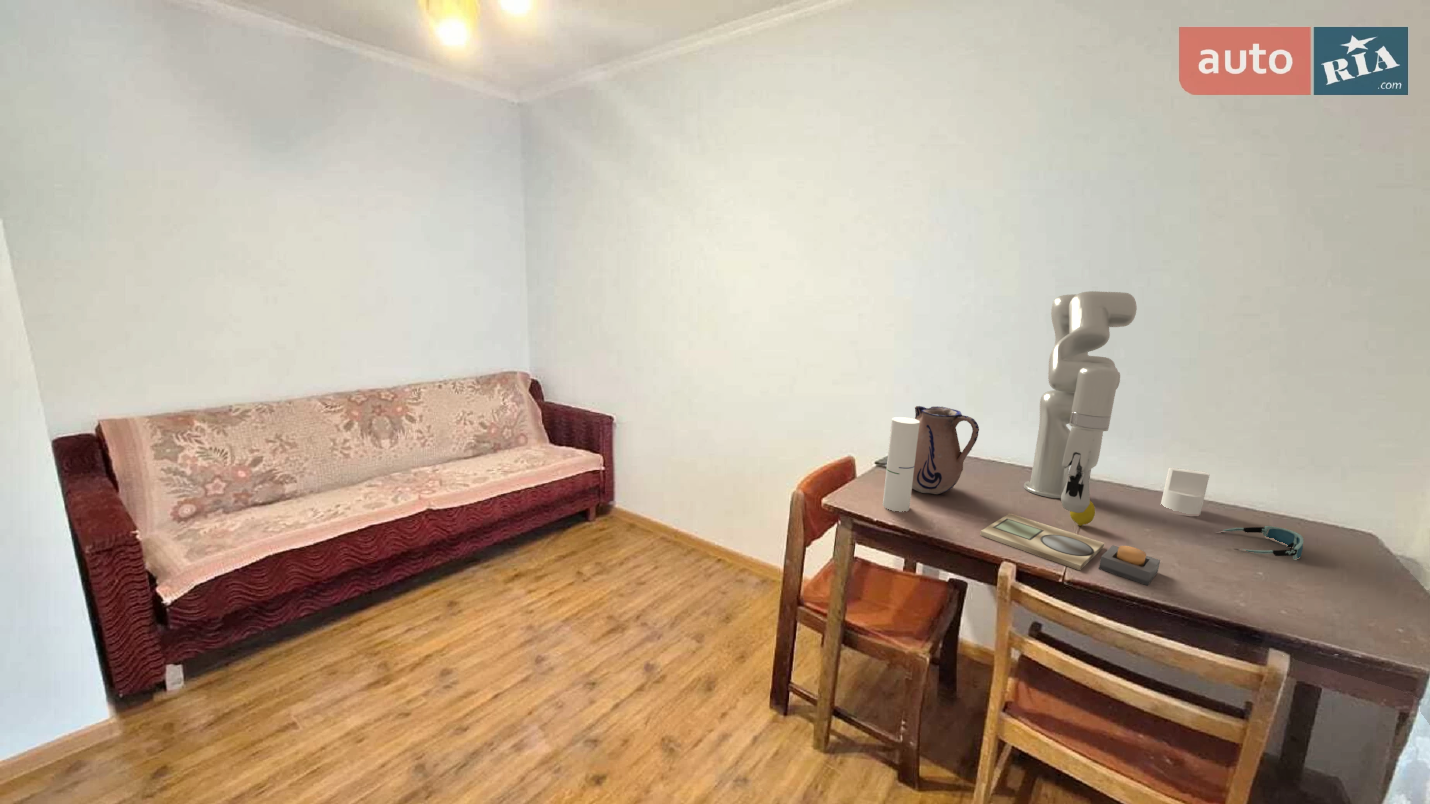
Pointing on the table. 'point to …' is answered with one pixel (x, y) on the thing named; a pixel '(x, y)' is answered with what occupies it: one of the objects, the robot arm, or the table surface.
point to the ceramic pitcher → (939, 449)
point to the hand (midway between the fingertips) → (1075, 496)
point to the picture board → (1043, 540)
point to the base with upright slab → (1185, 490)
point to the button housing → (1129, 567)
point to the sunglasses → (1280, 535)
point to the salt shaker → (1077, 497)
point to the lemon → (1084, 515)
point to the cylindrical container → (900, 463)
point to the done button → (1131, 555)
